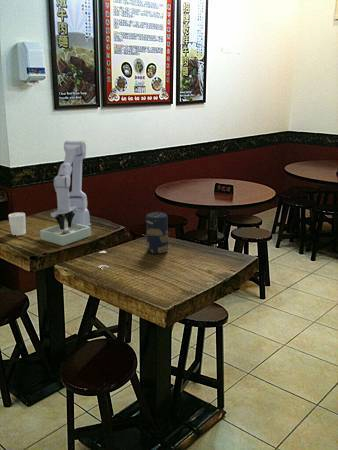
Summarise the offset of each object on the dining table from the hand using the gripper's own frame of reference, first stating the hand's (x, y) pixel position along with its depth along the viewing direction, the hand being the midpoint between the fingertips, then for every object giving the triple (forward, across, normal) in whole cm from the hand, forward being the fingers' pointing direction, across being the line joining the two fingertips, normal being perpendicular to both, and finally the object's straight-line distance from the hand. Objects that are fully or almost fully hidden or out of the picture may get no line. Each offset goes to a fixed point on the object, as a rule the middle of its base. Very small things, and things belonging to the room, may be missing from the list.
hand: (65, 228), depth 228 cm
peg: (+2, 0, 0) cm, 3 cm away
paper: (+5, +13, +39) cm, 41 cm away
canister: (+5, -11, +48) cm, 49 cm away
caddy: (+5, 0, 0) cm, 5 cm away
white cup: (+5, +10, -24) cm, 26 cm away
